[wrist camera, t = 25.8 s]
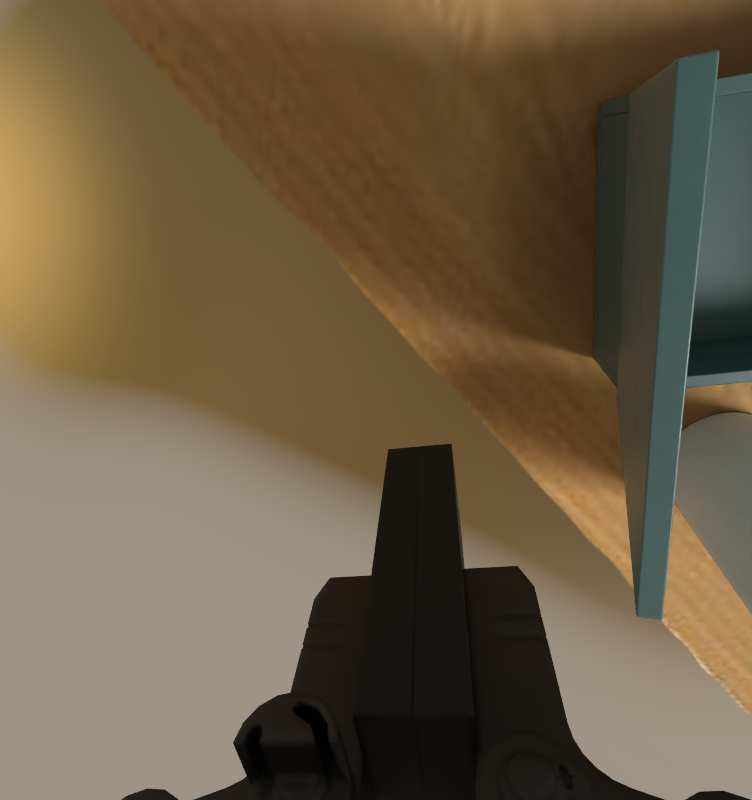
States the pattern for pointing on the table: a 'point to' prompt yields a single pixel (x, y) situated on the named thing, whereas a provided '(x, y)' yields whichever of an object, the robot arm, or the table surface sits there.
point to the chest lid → (660, 300)
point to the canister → (720, 493)
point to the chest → (719, 248)
